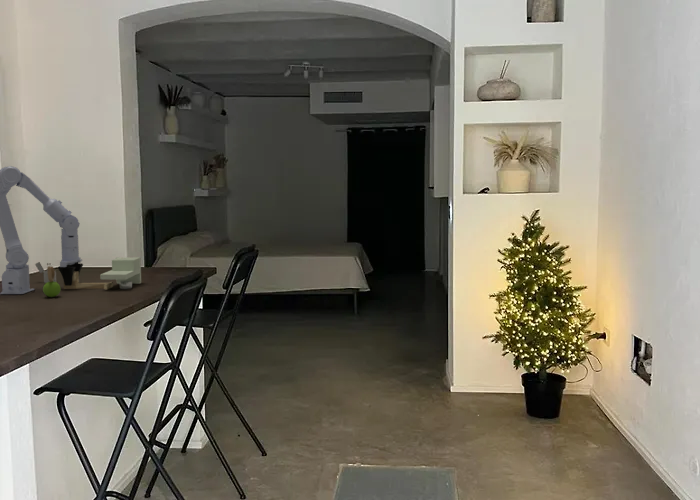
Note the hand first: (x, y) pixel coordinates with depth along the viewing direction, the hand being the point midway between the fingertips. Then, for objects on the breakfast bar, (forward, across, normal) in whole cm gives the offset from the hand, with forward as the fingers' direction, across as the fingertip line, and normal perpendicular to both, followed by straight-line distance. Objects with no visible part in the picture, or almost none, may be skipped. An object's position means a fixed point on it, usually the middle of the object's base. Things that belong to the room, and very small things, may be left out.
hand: (71, 284), depth 235 cm
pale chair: (+1, +3, -17) cm, 18 cm away
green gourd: (+2, -20, -1) cm, 20 cm away
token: (+2, 0, -20) cm, 20 cm away
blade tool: (+1, 0, -6) cm, 6 cm away
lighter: (+2, +14, +15) cm, 21 cm away
